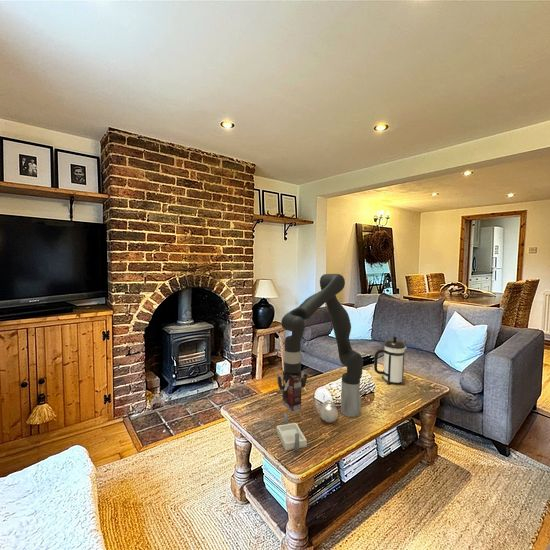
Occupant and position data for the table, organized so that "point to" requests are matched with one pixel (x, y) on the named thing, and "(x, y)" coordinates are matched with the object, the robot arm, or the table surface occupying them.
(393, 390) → the table surface
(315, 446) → the table surface
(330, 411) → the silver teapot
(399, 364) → the coffee press
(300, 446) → the holder caddy
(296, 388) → the supplement box
